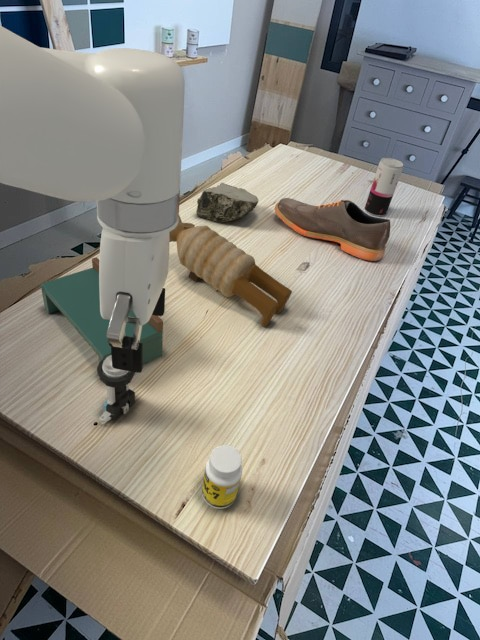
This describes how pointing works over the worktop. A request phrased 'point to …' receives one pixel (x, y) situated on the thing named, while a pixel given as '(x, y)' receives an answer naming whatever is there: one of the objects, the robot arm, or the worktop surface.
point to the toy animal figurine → (227, 268)
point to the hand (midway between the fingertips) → (140, 339)
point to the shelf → (95, 312)
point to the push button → (115, 389)
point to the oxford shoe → (338, 226)
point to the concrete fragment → (225, 203)
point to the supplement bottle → (222, 477)
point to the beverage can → (383, 186)
